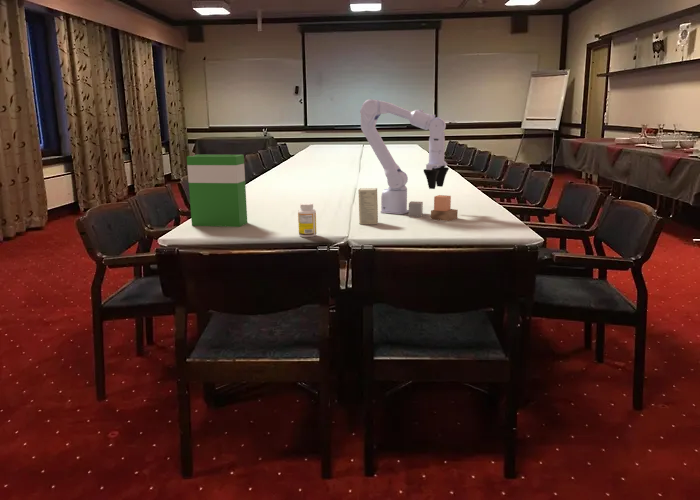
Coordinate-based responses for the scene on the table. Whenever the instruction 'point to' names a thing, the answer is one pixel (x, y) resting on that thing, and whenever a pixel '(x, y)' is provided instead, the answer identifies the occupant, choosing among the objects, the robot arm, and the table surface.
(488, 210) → the table surface
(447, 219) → the walnut slab
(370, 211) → the skincare box
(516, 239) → the table surface
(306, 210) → the supplement bottle
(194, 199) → the cereal box
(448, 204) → the rust block
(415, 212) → the grey block
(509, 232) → the table surface
